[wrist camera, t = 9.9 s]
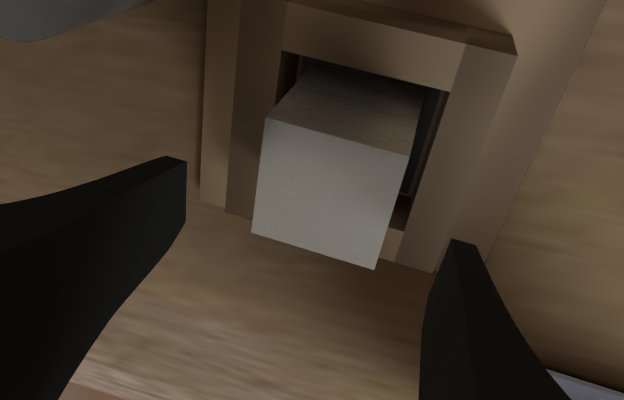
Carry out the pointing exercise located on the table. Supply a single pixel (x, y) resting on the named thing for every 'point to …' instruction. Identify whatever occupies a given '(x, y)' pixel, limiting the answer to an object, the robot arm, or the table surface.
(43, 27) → the thick gray rectangular block
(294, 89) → the block
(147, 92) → the table surface
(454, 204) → the socket block
